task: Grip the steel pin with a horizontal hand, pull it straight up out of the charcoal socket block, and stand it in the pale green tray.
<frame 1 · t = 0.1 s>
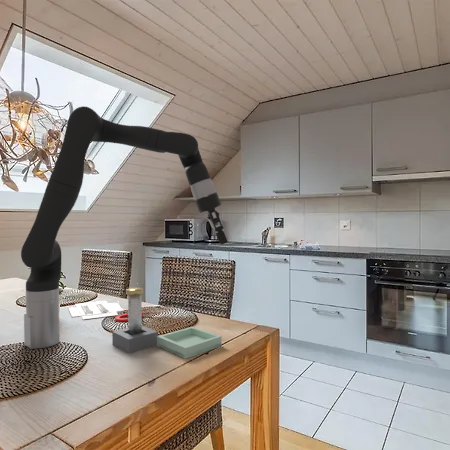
hand: (223, 242, 117), 31 cm above the table, tool tilted 20°, fingers open, 8 cm apart
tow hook: (128, 319, 140), on the table
steel pin: (135, 317, 112), in the socket block
tray: (189, 346, 110), on the table
socket block: (135, 344, 112), on the table
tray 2: (95, 311, 154), on the table
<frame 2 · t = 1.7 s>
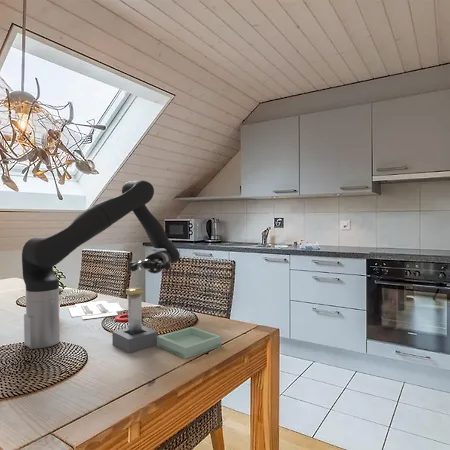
hand: (144, 268, 122), 22 cm above the table, tool horizontal, fingers open, 8 cm apart
nothing on the table moved.
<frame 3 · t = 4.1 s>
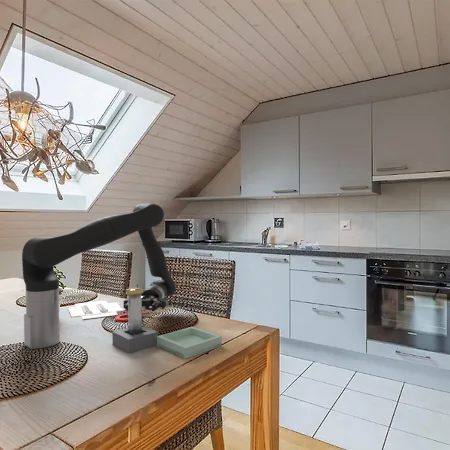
hand: (139, 308, 117), 10 cm above the table, tool horizontal, fingers open, 8 cm apart
nothing on the table moved.
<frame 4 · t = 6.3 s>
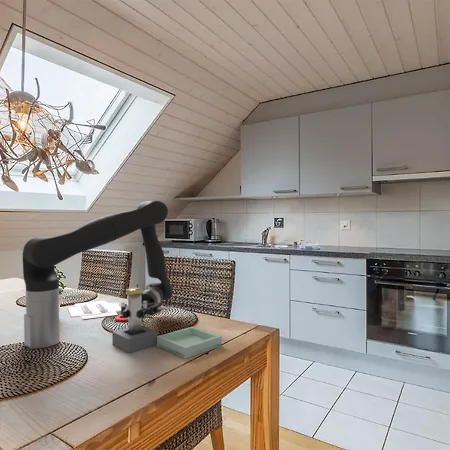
hand: (132, 314, 109), 10 cm above the table, tool horizontal, fingers closed on steel pin, 4 cm apart
steel pin: (135, 317, 112), in the socket block, touching gripper
everything else where it was.
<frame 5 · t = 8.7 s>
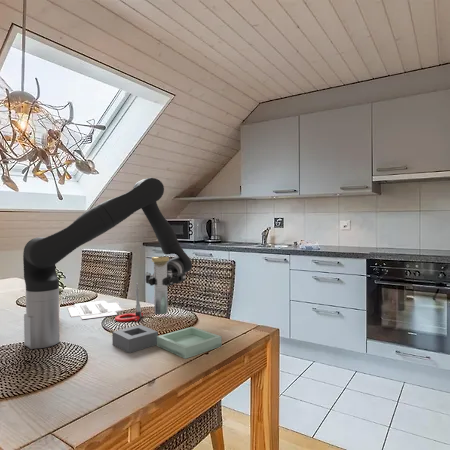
hand: (158, 282, 108), 20 cm above the table, tool horizontal, fingers closed on steel pin, 4 cm apart
steel pin: (160, 285, 111), point 19 cm above the table, touching gripper
everything else where it was.
when the fingers open (12 cm above the table, at t = 11.1 s): steel pin stays where it is, resting on tray.
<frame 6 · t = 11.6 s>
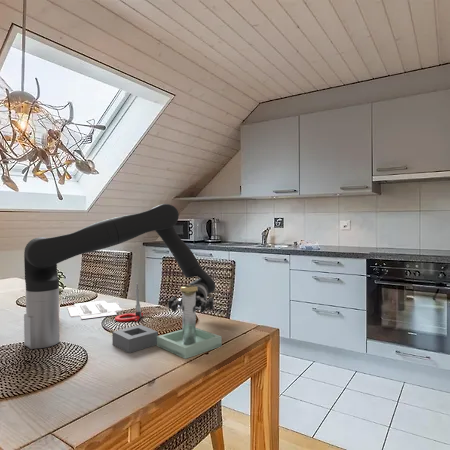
hand: (188, 308, 108), 12 cm above the table, tool horizontal, fingers open, 8 cm apart
steel pin: (189, 314, 110), in the tray, point 10 cm above the table
everything else where it was.
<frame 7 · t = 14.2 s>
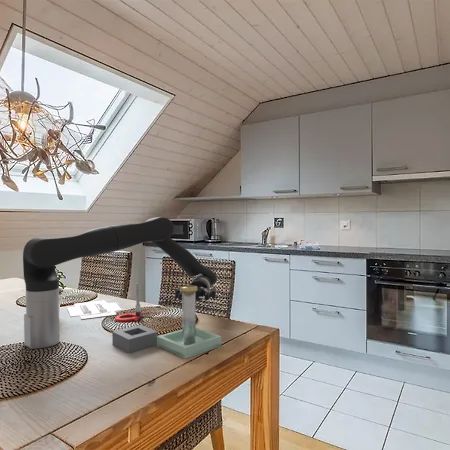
hand: (193, 297, 121), 12 cm above the table, tool horizontal, fingers open, 8 cm apart
nothing on the table moved.
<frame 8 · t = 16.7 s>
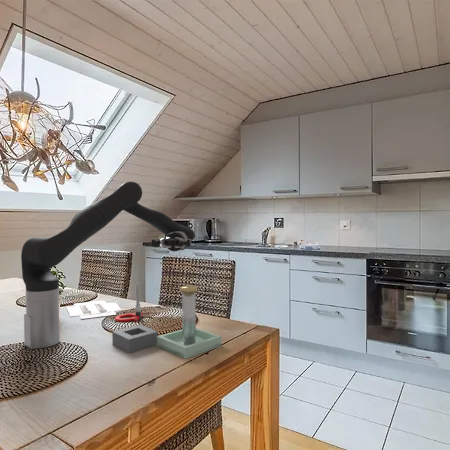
hand: (167, 244, 127), 30 cm above the table, tool horizontal, fingers open, 8 cm apart
at the end: steel pin inside the target area on the tray (0.1 cm from its centre), point 9.6 cm above the tray's base; the gripper is holding nothing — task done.
